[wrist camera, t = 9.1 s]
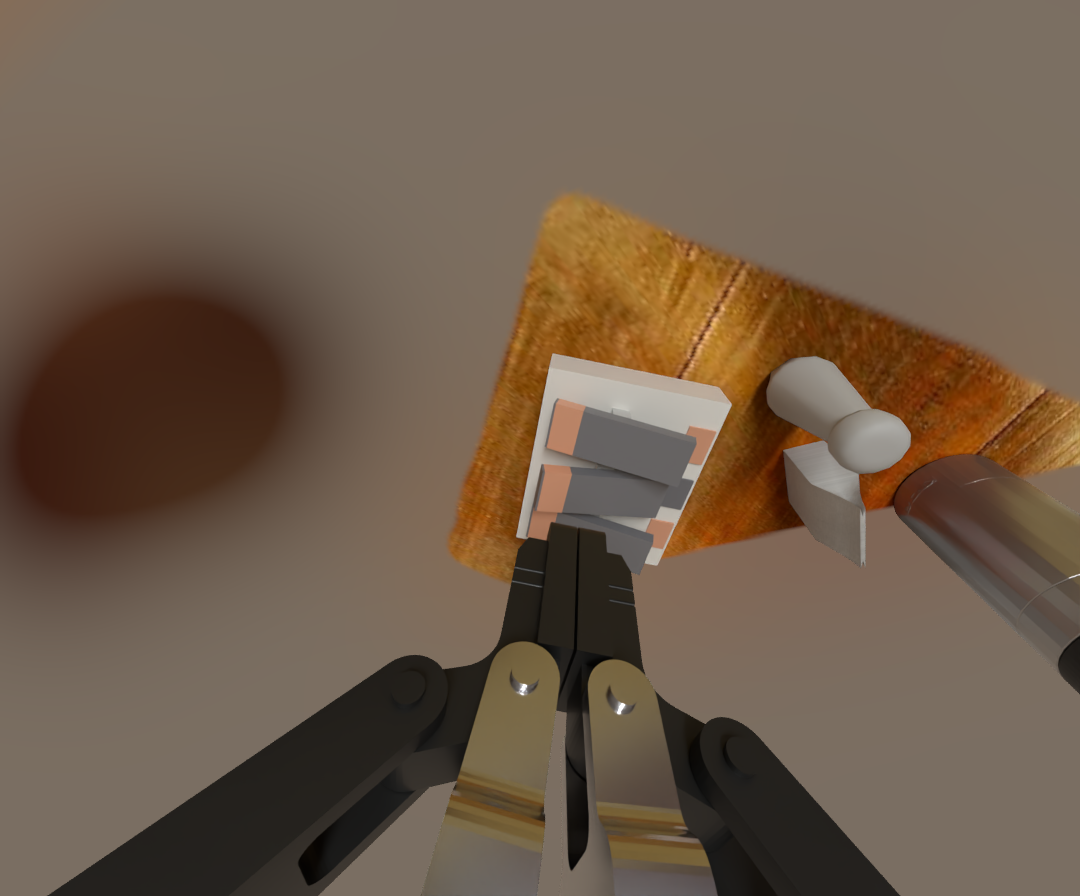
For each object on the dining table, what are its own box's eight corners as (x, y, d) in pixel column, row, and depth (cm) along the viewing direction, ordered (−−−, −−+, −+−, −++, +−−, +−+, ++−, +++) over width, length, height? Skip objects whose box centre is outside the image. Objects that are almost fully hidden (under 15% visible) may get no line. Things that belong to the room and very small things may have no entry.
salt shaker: (827, 399, 38) (928, 478, 26) (760, 416, 39) (830, 497, 28) (825, 340, 35) (937, 399, 24) (754, 360, 36) (828, 425, 25)
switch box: (718, 387, 38) (737, 411, 33) (652, 540, 48) (659, 575, 44) (552, 353, 38) (547, 372, 33) (521, 514, 48) (514, 546, 44)
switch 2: (665, 474, 38) (670, 482, 37) (651, 510, 40) (655, 518, 39) (541, 463, 36) (542, 471, 35) (533, 502, 38) (534, 510, 37)
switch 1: (696, 437, 33) (696, 443, 32) (677, 480, 35) (677, 487, 34) (557, 397, 35) (553, 403, 34) (548, 441, 37) (544, 447, 36)
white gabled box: (788, 501, 44) (838, 572, 35) (783, 450, 41) (835, 513, 32) (826, 493, 43) (887, 564, 34) (823, 440, 40) (889, 503, 31)
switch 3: (653, 534, 39) (653, 542, 38) (640, 566, 41) (639, 575, 40) (536, 496, 41) (532, 503, 40) (529, 529, 43) (525, 536, 42)
